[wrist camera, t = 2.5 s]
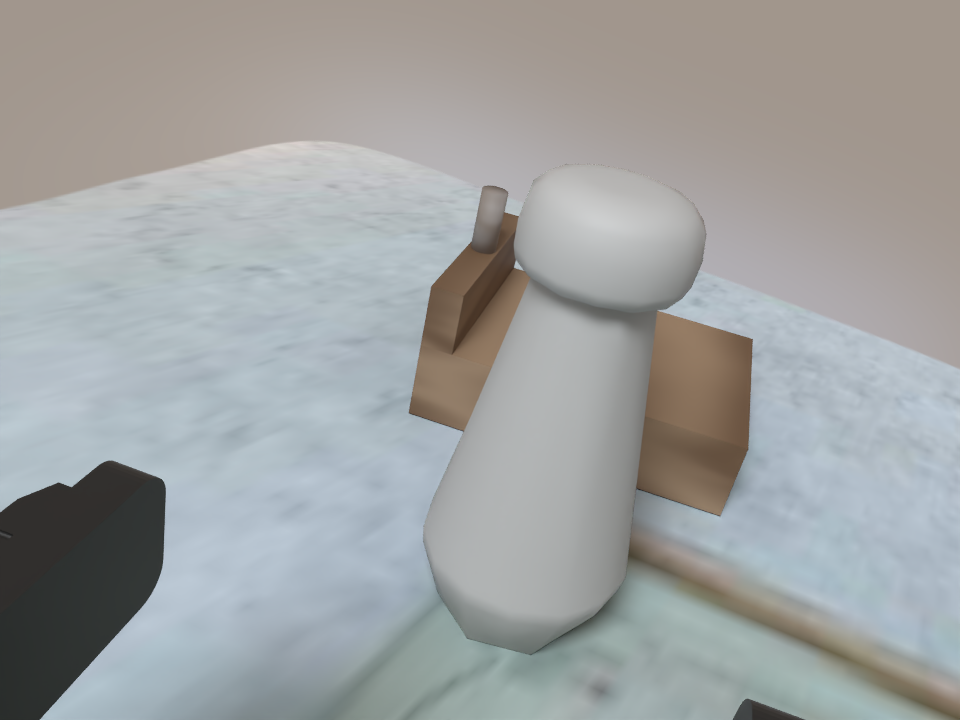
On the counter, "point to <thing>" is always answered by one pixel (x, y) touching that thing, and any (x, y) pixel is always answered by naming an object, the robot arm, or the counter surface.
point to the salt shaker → (562, 409)
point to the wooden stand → (672, 382)
